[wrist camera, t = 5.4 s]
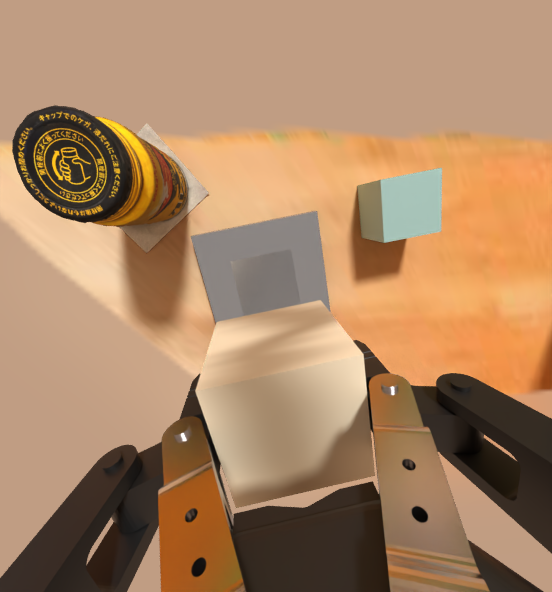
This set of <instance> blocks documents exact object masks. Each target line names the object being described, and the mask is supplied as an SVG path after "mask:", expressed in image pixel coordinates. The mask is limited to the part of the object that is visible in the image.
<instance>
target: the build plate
mask: <svg viewBox="0 0 552 592" xmlns="http://www.w3.org/2000/svg"><path fill="white" fill-rule="evenodd" d="M191 239H192V242H193V246H194V249H195V253H196V256H197V260H198V263H199V267H200V270H201V274H202V277H203V280H204V284H205V287H206V291H207V294H208V298H209V301H210V305H211V308H212V312H213V315H214V319H215V322H216V323H217V322H219V321H224V320H228V319H233V318H238V317H242V316H247V315H252V314H257V313H261V312H266V311H271V310H275V309H280V308H285V307H290V306H294V305H299V304H304V303H308V302H313V301H318V300H321V301H322V303H323V304H324V305H325V306H326V308H327V309H328V310H329V311H330V305H329V298H328V290H327V283H326V275H325V268H324V260H323V253H322V245H321V238H320V230H319V223H318V215H317V211H312V212H307V213H302V214H298V215H293V216H288V217H283V218H278V219H273V220H268V221H263V222H258V223H253V224H248V225H243V226H238V227H233V228H228V229H223V230H218V231H213V232H208V233H203V234H199V235H194V236H191ZM330 313H331V312H330Z"/></svg>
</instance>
